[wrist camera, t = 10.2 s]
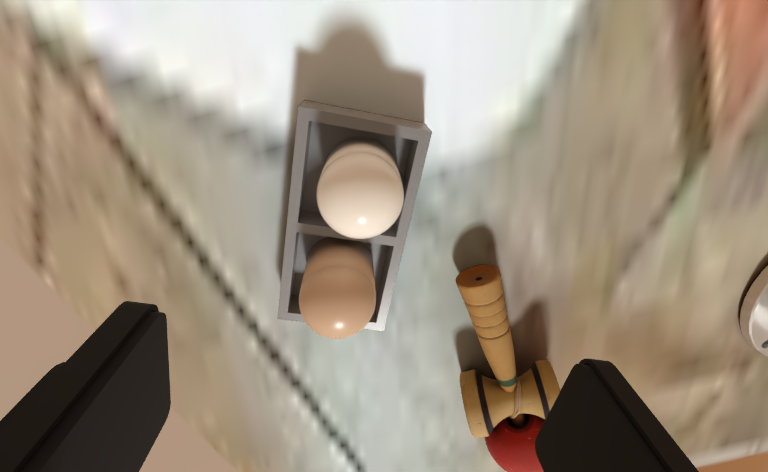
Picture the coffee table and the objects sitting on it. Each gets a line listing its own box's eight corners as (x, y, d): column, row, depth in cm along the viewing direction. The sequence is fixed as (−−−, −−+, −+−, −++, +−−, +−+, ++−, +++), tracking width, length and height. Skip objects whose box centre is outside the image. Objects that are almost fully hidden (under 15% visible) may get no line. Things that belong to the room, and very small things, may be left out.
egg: (403, 142, 23) (416, 171, 17) (391, 212, 25) (399, 259, 19) (327, 131, 22) (315, 156, 17) (320, 203, 24) (307, 248, 18)
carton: (424, 123, 23) (448, 150, 17) (381, 308, 29) (388, 378, 23) (304, 100, 22) (284, 120, 16) (283, 296, 28) (263, 366, 22)
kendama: (407, 278, 29) (471, 453, 35) (433, 316, 23) (506, 520, 29) (500, 239, 30) (549, 417, 35) (549, 266, 24) (599, 475, 29)
